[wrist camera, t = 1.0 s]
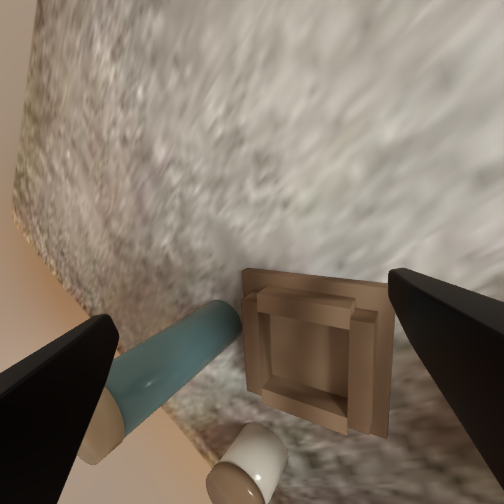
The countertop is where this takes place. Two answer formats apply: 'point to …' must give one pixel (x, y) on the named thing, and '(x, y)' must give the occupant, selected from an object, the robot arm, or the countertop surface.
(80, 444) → the robot arm
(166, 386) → the tall jar
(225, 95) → the countertop surface
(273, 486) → the squat jar
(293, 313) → the open box
